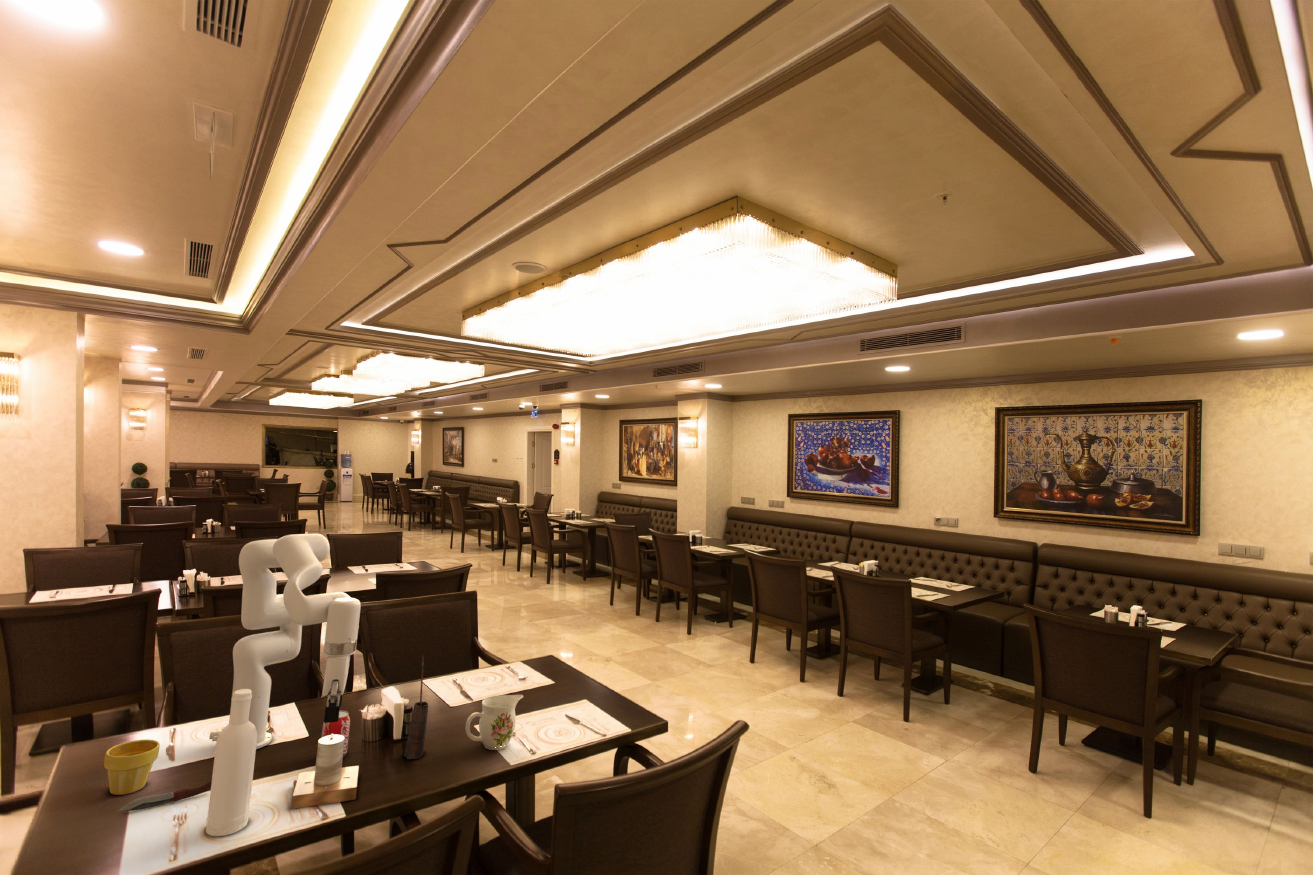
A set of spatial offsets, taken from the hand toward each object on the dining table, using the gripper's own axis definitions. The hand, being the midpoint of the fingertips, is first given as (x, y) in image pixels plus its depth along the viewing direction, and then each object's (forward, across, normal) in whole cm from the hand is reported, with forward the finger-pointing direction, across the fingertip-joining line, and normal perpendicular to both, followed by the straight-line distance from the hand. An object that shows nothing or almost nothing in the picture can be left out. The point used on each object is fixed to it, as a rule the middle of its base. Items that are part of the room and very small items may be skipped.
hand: (332, 714), depth 154 cm
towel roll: (+16, +1, 0) cm, 16 cm away
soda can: (+20, -19, 0) cm, 27 cm away
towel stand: (+19, +1, 0) cm, 19 cm away
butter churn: (+19, -13, +22) cm, 32 cm away
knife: (+20, -4, -34) cm, 39 cm away
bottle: (+19, +11, -18) cm, 29 cm away
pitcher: (+19, -14, +44) cm, 50 cm away
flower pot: (+20, -15, -44) cm, 51 cm away
